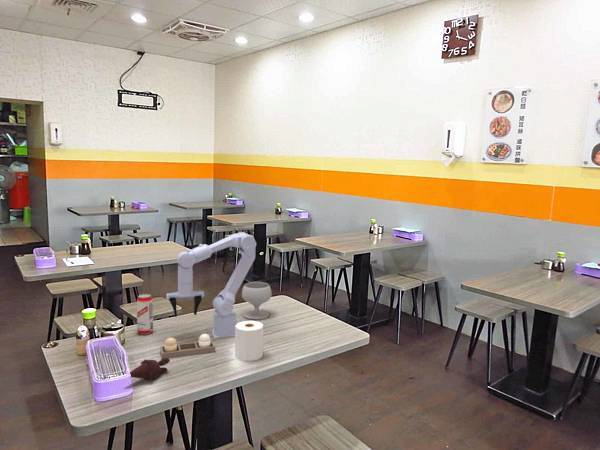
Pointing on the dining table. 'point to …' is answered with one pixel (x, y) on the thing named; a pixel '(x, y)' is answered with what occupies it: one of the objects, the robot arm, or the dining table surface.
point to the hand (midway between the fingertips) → (185, 315)
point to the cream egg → (204, 341)
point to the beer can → (144, 314)
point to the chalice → (256, 298)
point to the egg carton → (187, 350)
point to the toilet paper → (249, 340)
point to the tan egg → (170, 345)
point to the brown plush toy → (150, 369)
